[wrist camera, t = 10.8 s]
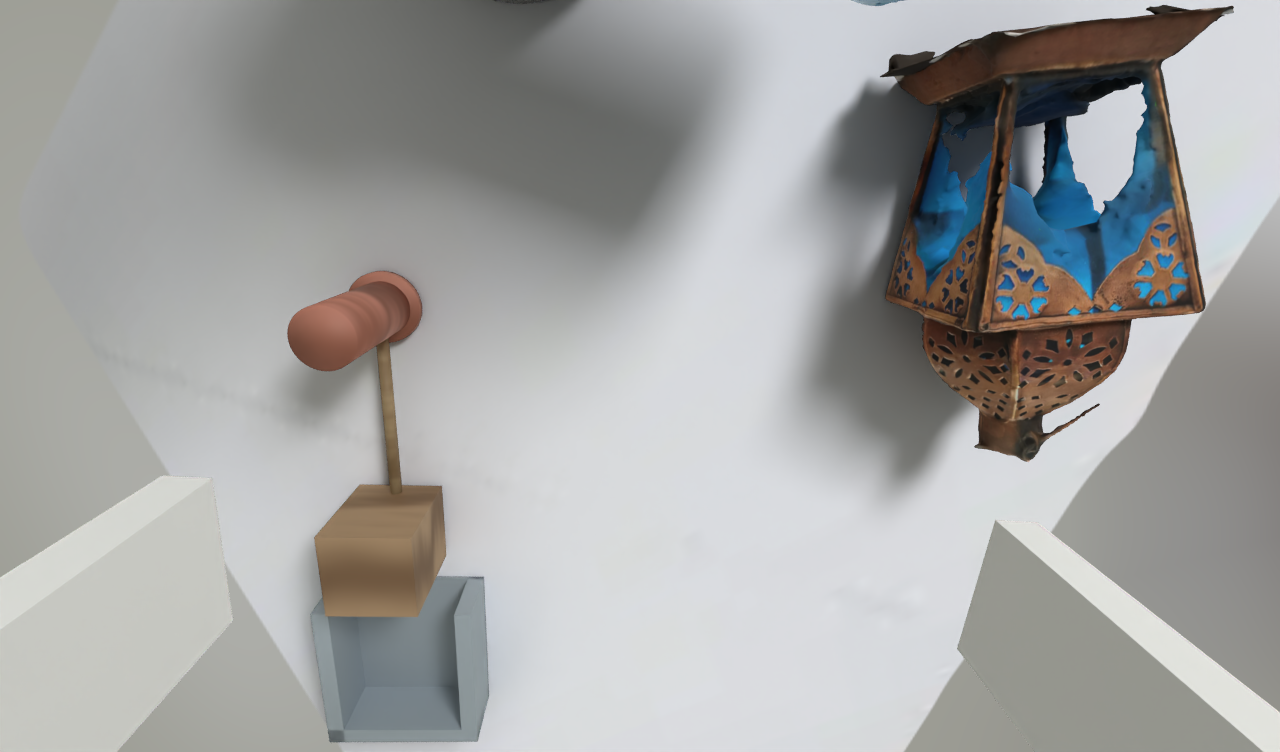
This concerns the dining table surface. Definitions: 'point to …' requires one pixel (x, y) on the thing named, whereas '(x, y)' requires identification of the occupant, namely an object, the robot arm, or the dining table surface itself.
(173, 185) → the dining table surface
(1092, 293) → the lantern
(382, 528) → the block and peg linkage
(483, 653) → the slate open-sided box
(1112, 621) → the robot arm
